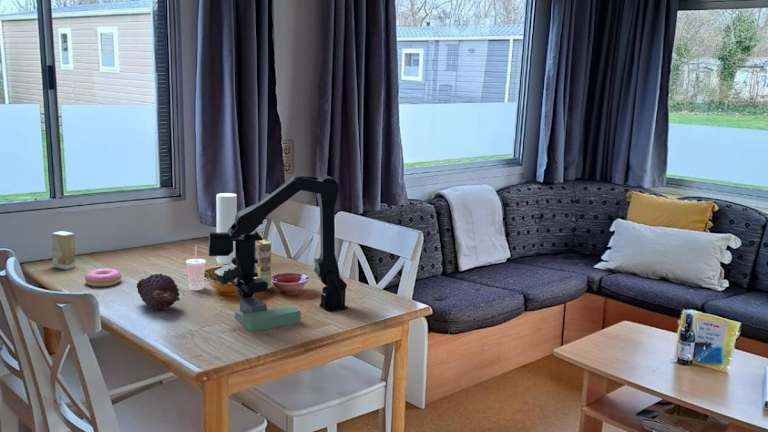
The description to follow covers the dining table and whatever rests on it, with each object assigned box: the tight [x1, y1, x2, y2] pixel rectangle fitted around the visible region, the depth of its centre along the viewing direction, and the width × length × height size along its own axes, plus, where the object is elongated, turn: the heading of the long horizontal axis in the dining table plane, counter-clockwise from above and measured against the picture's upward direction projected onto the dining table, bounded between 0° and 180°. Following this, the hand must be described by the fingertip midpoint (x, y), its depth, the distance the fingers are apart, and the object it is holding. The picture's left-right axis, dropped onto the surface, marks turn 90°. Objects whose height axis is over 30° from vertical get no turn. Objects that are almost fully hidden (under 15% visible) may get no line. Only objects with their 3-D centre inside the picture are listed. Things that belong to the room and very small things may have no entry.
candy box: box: [255, 238, 272, 289], centre depth 220 cm, size 9×4×15 cm, turn 33°
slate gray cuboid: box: [239, 296, 268, 314], centre depth 190 cm, size 4×8×5 cm, turn 35°
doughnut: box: [84, 267, 122, 288], centre depth 217 cm, size 11×11×4 cm
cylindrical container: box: [215, 192, 238, 265], centre depth 246 cm, size 7×7×25 cm
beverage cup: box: [185, 245, 207, 291], centre depth 214 cm, size 6×6×14 cm
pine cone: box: [136, 273, 181, 310], centre depth 195 cm, size 18×10×10 cm, turn 53°
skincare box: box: [51, 230, 76, 270], centre depth 231 cm, size 6×4×12 cm
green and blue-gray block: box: [234, 305, 302, 333], centre depth 189 cm, size 15×12×4 cm
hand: (244, 307), depth 195 cm, fingers closed
